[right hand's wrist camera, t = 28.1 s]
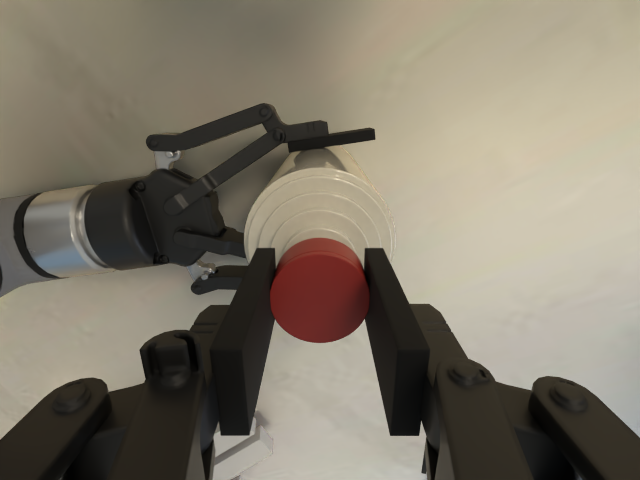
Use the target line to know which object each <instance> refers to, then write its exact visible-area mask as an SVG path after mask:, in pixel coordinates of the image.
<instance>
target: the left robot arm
mask: <svg viewBox="0 0 640 480" xmlns="http://www.w3.org/2000/svg"><path fill="white" fill-rule="evenodd" d="M261 123H262V124H263V126H264V127H265V129H266V131H267V133H266V134H265V135H263V136H262V137H260V138H259V139H257V140H256V141H254V142H253V143H252V144H250V145H249V146H247V147H246V148H244V149H243V150H241V151H240V152H238V153H237V154H235V155H234V156H233V157H231V158H230V159H228V160H227V161H225V162H224V163H222V164H221V165H219V166H218V167H217V168H215V169H214V170H212V171H211V172H209V173H208V174H206V175H205V176H203V177H202V178H200V179H199V180H197V179H195V178H193V177H191V176H189V175H187V174H185V173H183V172H181V171H179V170H177V169H175V168H173V164H174V162H175V161H176V160H180V159H182V158H183V157H184V155H185V150H186V149H190V148H194V147H197V146H200V145H203V144H206V143H209V142H211V141H214V140H217V139H220V138H222V137H225V136H228V135H231V134H233V133H236V132H239V131H242V130H244V129H247V128H250V127H253V126H256V125H258V124H261ZM369 140H375V130H374V129H372V128H364V129H358V130H351V131H345V132H338V133H332V134H329V133H328V126H327V122H325V121H321V120H319V121H312V122H306V123H299V124H293V125H287V124H285V123H283V122H282V121H281V119H280V118H279V116H278V114H277V112H276V109H275V108H274V106H272V105H270V104H265V103H263V104H259V105H256V106H254V107H251V108H248V109H245V110H243V111H240V112H237V113H235V114H232V115H229V116H226V117H224V118H221V119H218V120H216V121H213V122H210V123H207V124H205V125H202V126H199V127H197V128H194V129H191V130H188V131H186V132H183V133H162V134H155V135H150V136H148V137H147V139H146V144H147V146H148V148H149V149H151V150H152V151H154V156H155V163H156V170H154V171H153V172H152V173H151V174H149V175H148V176H144V177H138V178H131V179H125V180H118V181H112V182H105V183H101V184H99V185H93V184H92V185H85V186H79V187H72V188H66V189H60V190H53V191H47V192H43V193H38V194H33V195H25V196H18V197H11V198H3V199H0V297H2V296H3V295H5V294H7V293H9V292H10V291H12V290H14V289H16V288H18V287H20V286H22V285H26V284H29V283H35V282H42V281H48V280H55V279H62V278H69V277H76V276H84V275H92V274H100V273H108V272H113V271H115V270H129V269H136V268H143V267H150V266H157V265H163V264H168V263H173V264H178V265H181V266H186V267H187V269H188V271H189V273H190V275H191V277H192V279H193V281H194V283H193V284H192V286H191V290H192V292H193V293H195V294H197V295H200V294H204V293H207V292H210V291H214V290H217V289H231V290H237V289H238V287H239V285H240V283H241V280H242V278H243V276H244V274H245V272H246V270H247V268H248V266H235V265H225V266H218V267H216V266H215V264H213V263H207V264H206V263H203V262H202V261H201V260H200V258H201V257H202V256H203V255H204V254H205V253H206V252H207V251H208V252H212V253H216V254H221V255H225V254H231V255H235V256H239V257H243V258H247V257H246V254H245V248H244V233H241V232H238V231H236V230H235V229H233V228H230V227H226V226H225V224H224V220H223V217H222V215H221V213H220V212H219V210H218V197H217V193H216V192H214V191H213V189H214V188H216V187H217V186H219V185H220V184H222V183H223V182H225V181H226V180H228V179H229V178H231V177H232V176H234V175H235V174H237V173H238V172H240V171H241V170H243V169H244V168H246V167H247V166H249V165H250V164H252V163H253V162H255V161H256V160H258V159H259V158H261V157H262V156H264V155H265V154H267V153H268V152H270V151H271V150H273V149H274V148H275V147H277V146H278V145H280V144H282V143H288V148H289V153H291V152H297V151H304V150H310V149H317V148H324V147H330V146H337V145H343V144H350V143H356V142H363V141H369Z"/></svg>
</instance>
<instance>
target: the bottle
mask: <svg viewBox="0 0 640 480" xmlns="http://www.w3.org/2000/svg"><path fill="white" fill-rule="evenodd" d="M311 238H329V239H333V240H336V241H339V242H341V243H343V244H345V245H346V246H348V247H349V248H350V249H352V250H353V251H354V252H355V254H356V255H357V256H358V258H359V259H360V261H361V263H362V265H363V269H364V253H365V248H383V249H384V251H385V253H386V255H387V257H388V260H389V262H390V264H391V263H392V259H393V256H394V252H395V246H396V233H395V226H394V222H393V218H392V215H391V213H390V210H389V208H388V206H387V205H386V203H385V201H384V200H383V198H382V197H381V196H380V194H379V193H378V192H377V190H376V189H375V187H374V186H373V185H372V183H371V182H370V181H369V179H368V178H367V177H366V175H365V174H364V172H363V171H362V170H361V168H360V167H359V166H358V164H357V163H356V162H355V160H354V159H353V157H352V156H351V155H350V154H349V153H348V152H347V151H346V150H345V149H343V148H342V147H340V146H339V145H337V146H330V147H324V148H317V149H310V150H304V151H297V152H291V153H290V155H289V156H288V157H287V158H286V160H285V161H284V162H283V164H282V165H281V166H280V168H279V169H278V171H277V172H276V173H275V175H274V176H273V177H272V179H271V180H270V181H269V183H268V184H267V186H266V187H265V188H264V190H263V191H262V192H261V194H260V195H259V196H258V198H257V199H256V201H255V202H254V204H253V206H252V208H251V210H250V212H249V214H248V217H247V220H246V223H245V230H244V248H245V254H246V257H247V261H248V263H250V261H251V259H252V257H253V255H254V253H255V250H256V248H275V258H276V267H277V265H278V262H279V260H280V258H281V257H282V256H283V254H284V253H285V252H286V251H287V250H288V249H289V248H290V247H292V246H293V245H295V244H296V243H298V242H301V241H303V240H306V239H311Z"/></svg>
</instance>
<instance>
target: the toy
mask: <svg viewBox="0 0 640 480" xmlns="http://www.w3.org/2000/svg"><path fill="white" fill-rule="evenodd" d="M214 444H215V461H214V471H213V480H229V479H231V478H233V477H234V476H236V475H238V474H240V473H241V472H243V471H245V470H246V469H248V468H250V467H252V466H253V465H255V464H257V463H258V462H260V461H262V460H263V459H265V458H267V457H269V456H270V455H272V454H273V438H272V437H271V436H270V435H269V434H268V433H267V431H266V430H265V429H264V428H263V427H262V426H261V425H259V426H258V427H256V419H255V417H253V422H252V427H251V431H250V436H221V434H220V427H219V422H218V425H217V428H216V431H215V434H214ZM231 480H242V477H241V476H240V475H239V476H237V477H235V478H233V479H231Z"/></svg>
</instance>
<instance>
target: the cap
mask: <svg viewBox="0 0 640 480" xmlns="http://www.w3.org/2000/svg"><path fill="white" fill-rule="evenodd" d="M369 298H370V291H369V287H368V283H367V279H366V276H365V272H364V269H363V265H362V263H361V261H360V259H359V258H358V256H357V255H356V254H355V252H354V251H353V250H352V249H350V248H349V247H348V246H346V245H345V244H343V243H341V242H339V241H336V240H333V239H329V238H311V239H306V240H303V241H301V242H298V243H296V244H295V245H293V246H292V247H290V248H289V249H288V250H287V251H286V252H285V253H284V254H283V256H282V257H281V258H280V260H279V262H278V265H277V267H276V271H275V274H274V278H273V281H272V285H271V289H270V303H271V311H272V314H273V316H274V318H275V319H276V321H277V323H278V324H279V325H280V326H281V327H282V328H283V329H284V330H285V331H286V332H288V333H289V334H290V335H292V336H294V337H296V338H298V339H300V340H304V341H307V342H313V343H326V342H332V341H336V340H339V339H341V338H344V337H346V336H348V335H349V334H351V333H352V332H354V331H355V330H356V329H357V328H358V327H359V326H360V325H361V323H362V322H363V320H364V319H365V317H366V315H367V313H368V310H369Z"/></svg>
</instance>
